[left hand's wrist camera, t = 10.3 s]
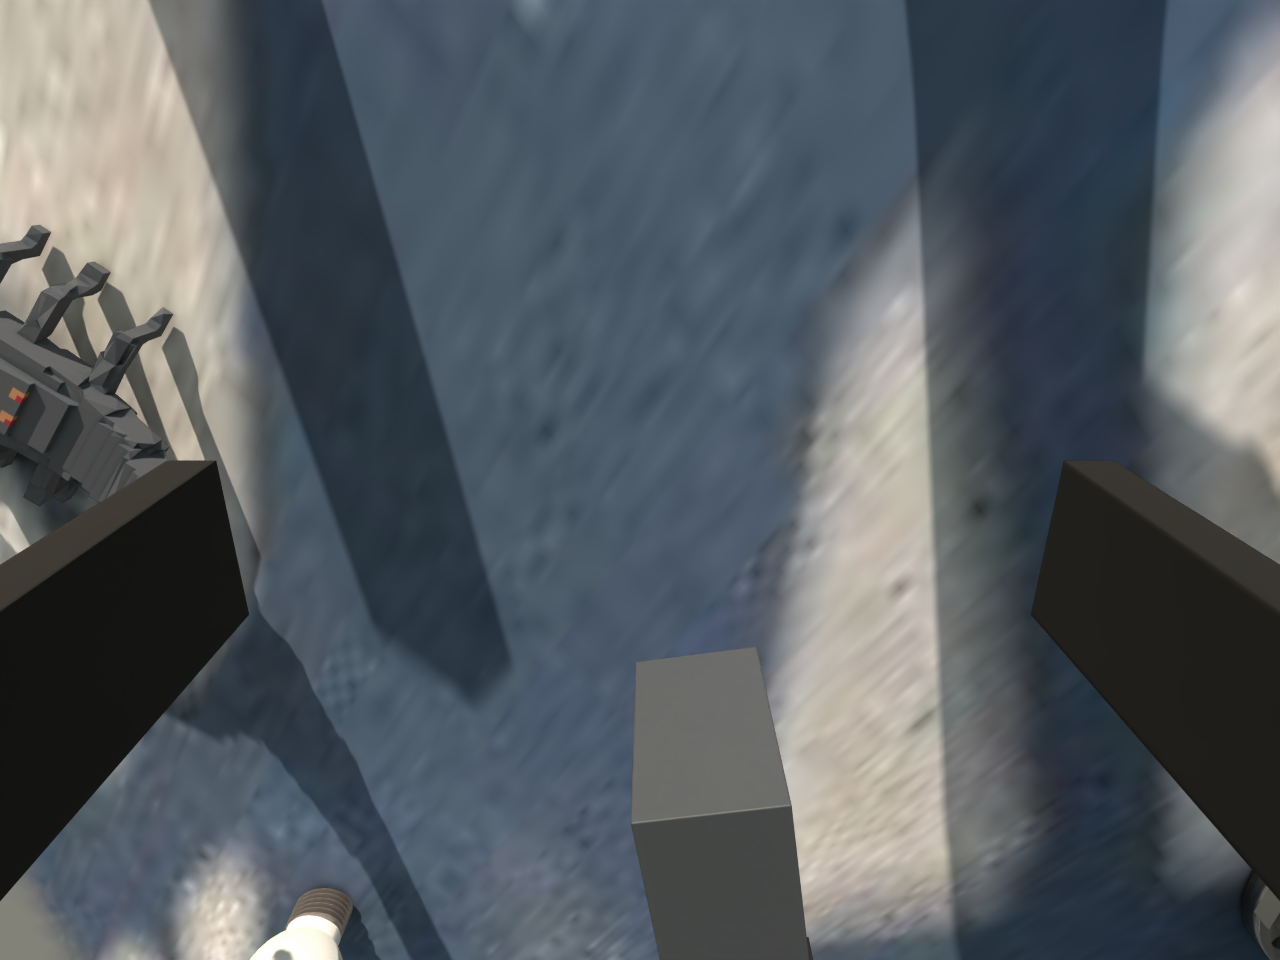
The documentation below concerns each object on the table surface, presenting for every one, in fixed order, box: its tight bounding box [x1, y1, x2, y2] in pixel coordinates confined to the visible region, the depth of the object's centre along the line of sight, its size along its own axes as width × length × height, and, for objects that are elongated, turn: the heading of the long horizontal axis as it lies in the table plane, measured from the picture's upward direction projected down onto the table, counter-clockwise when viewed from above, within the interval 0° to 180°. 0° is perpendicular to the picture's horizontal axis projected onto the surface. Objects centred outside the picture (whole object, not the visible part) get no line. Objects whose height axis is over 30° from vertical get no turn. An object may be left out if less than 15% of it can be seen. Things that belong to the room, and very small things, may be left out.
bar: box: [631, 647, 809, 960], centre depth 33 cm, size 22×5×9 cm, turn 9°
